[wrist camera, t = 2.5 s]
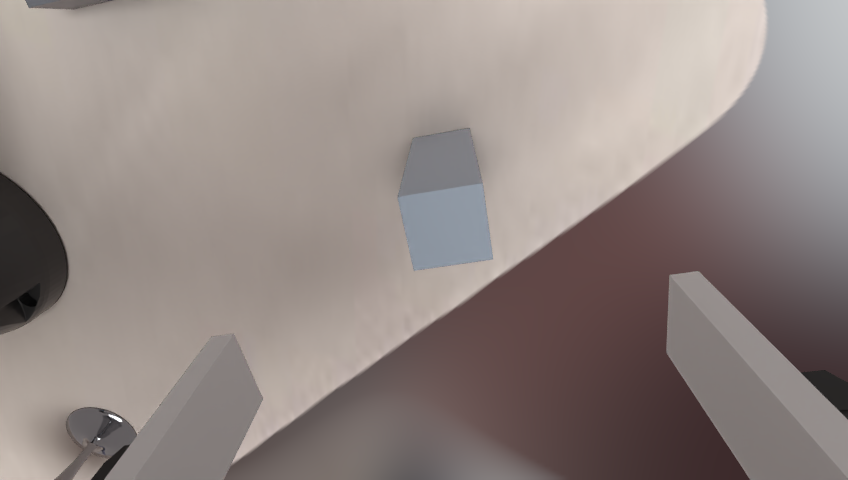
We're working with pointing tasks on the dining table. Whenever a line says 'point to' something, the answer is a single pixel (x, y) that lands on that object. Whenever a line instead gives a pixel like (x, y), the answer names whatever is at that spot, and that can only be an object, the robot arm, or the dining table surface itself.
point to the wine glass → (96, 436)
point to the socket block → (62, 3)
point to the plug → (444, 202)
